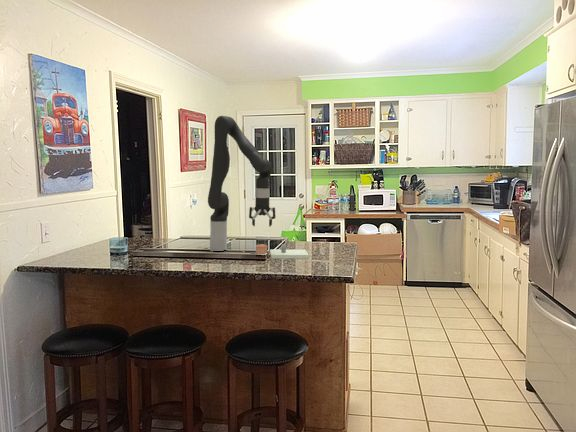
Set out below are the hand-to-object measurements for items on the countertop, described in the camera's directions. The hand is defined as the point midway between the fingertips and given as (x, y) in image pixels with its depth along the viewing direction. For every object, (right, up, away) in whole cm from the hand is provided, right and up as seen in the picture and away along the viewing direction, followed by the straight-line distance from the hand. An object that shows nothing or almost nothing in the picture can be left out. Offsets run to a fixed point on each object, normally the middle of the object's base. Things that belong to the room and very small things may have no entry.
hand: (262, 226), depth 260 cm
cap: (0, -16, +2) cm, 16 cm away
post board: (+15, -16, +2) cm, 22 cm away
